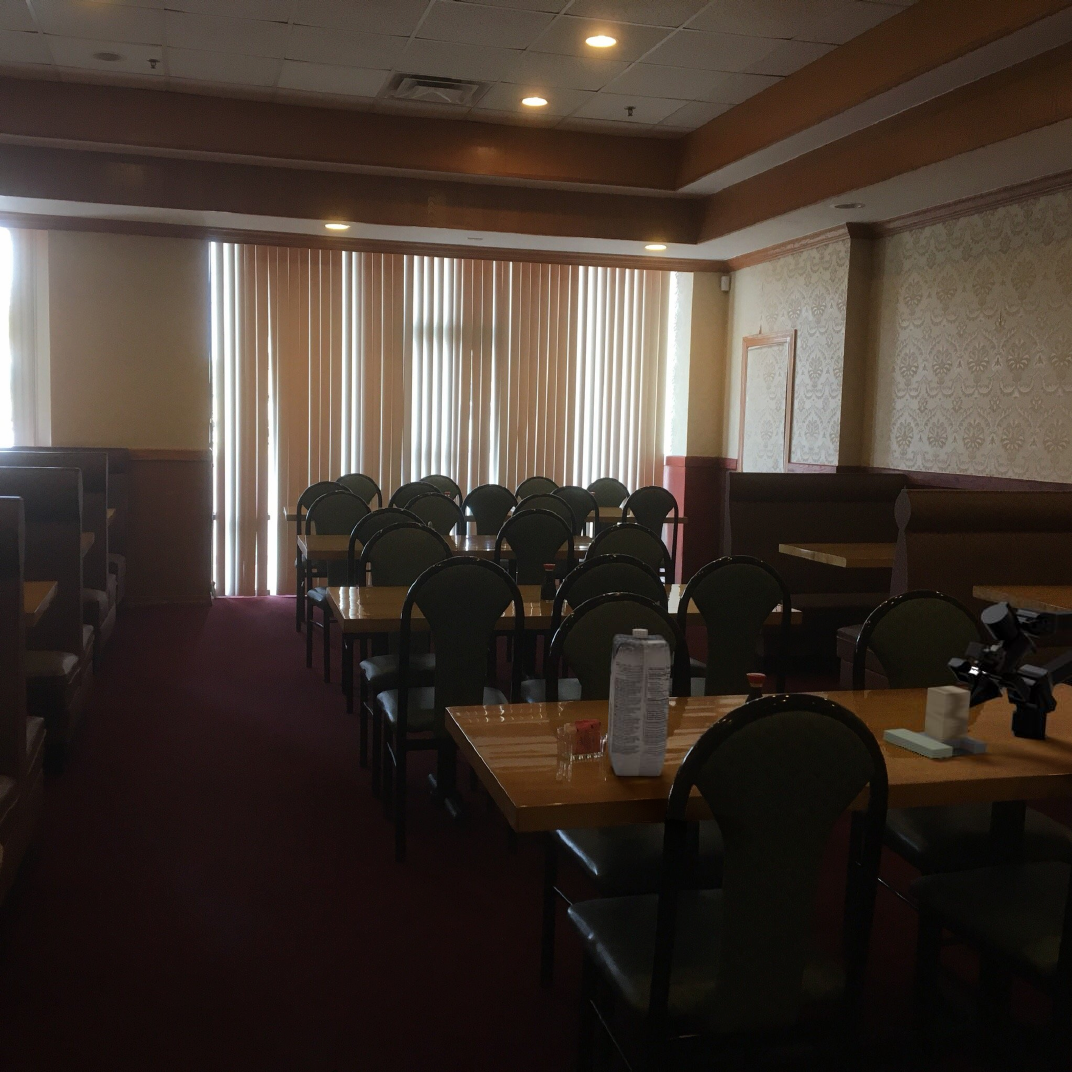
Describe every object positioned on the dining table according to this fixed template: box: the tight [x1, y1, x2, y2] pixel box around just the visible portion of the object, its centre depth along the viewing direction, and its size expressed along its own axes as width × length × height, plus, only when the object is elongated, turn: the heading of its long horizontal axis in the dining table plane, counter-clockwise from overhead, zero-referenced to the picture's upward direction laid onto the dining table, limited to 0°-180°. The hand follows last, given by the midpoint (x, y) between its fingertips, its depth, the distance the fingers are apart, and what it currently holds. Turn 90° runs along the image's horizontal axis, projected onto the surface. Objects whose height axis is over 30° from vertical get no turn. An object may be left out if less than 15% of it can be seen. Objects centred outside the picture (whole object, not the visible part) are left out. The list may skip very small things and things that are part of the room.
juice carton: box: [607, 628, 672, 777], centre depth 206 cm, size 9×10×27 cm
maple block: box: [923, 685, 971, 740], centre depth 232 cm, size 7×5×10 cm
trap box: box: [882, 728, 988, 759], centre depth 231 cm, size 15×14×2 cm
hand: (965, 707), depth 234 cm, fingers closed
